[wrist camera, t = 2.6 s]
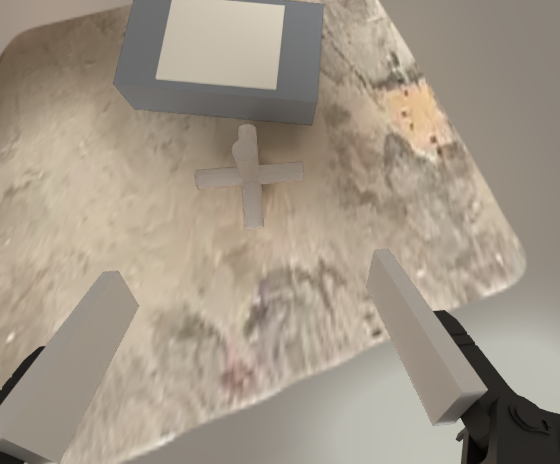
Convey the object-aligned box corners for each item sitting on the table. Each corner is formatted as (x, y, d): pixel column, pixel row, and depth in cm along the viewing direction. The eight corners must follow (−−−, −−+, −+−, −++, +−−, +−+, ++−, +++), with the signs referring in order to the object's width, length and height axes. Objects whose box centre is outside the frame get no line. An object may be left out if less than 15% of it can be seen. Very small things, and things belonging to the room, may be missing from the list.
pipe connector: (210, 157, 29) (175, 96, 19) (293, 151, 29) (301, 87, 19) (214, 239, 27) (178, 219, 17) (302, 232, 27) (316, 207, 17)
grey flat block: (134, 109, 30) (111, 82, 26) (153, 22, 32) (135, -15, 28) (311, 125, 30) (317, 100, 26) (318, 37, 32) (324, 1, 28)
